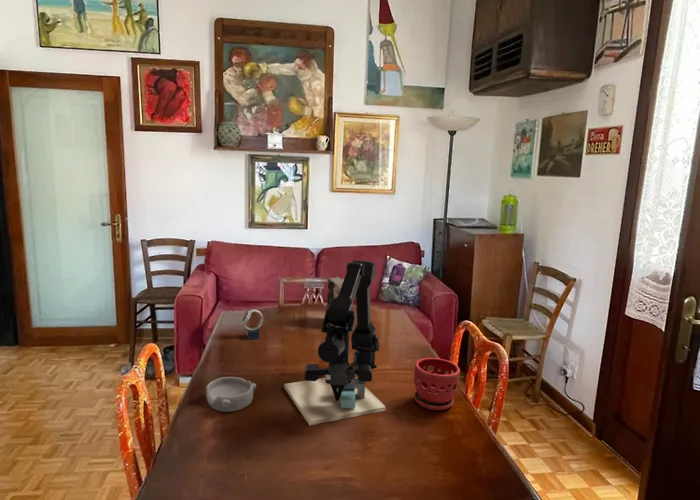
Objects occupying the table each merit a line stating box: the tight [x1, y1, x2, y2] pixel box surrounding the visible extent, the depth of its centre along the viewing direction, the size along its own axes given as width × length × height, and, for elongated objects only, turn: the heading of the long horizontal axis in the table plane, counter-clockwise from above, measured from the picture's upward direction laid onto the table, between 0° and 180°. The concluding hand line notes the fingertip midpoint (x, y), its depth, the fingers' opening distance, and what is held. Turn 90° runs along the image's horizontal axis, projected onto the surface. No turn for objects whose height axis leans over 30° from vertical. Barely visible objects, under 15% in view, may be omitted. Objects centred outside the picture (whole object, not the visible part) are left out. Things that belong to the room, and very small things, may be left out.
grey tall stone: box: [326, 275, 357, 327], centre depth 217 cm, size 13×13×20 cm
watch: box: [241, 309, 264, 341], centre depth 198 cm, size 6×8×11 cm
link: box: [341, 389, 355, 408], centre depth 152 cm, size 21×5×2 cm, turn 2°
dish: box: [205, 376, 257, 413], centre depth 147 cm, size 14×14×5 cm
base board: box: [283, 376, 387, 426], centre depth 150 cm, size 23×24×1 cm
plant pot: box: [413, 357, 461, 411], centre depth 149 cm, size 13×13×12 cm
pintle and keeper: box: [336, 377, 366, 399], centre depth 154 cm, size 14×9×5 cm, turn 4°
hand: (337, 400), depth 144 cm, fingers closed
